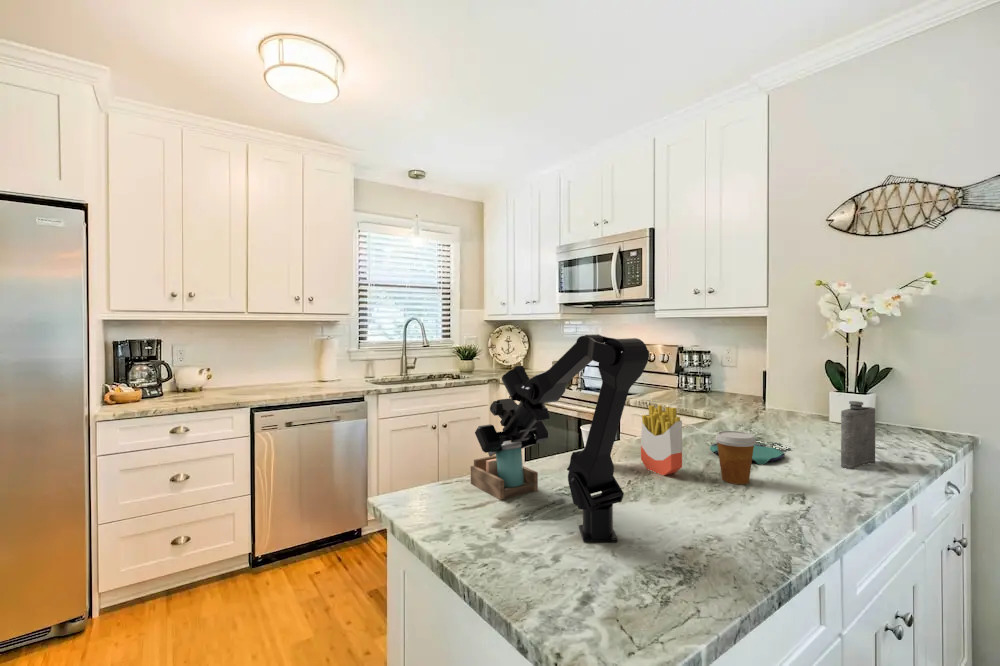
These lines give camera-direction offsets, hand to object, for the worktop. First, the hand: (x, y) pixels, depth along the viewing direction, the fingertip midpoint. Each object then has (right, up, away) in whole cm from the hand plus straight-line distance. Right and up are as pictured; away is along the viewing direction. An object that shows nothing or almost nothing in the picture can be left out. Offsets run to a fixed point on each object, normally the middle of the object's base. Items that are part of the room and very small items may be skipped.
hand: (500, 452), depth 120 cm
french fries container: (+44, -8, +10) cm, 46 cm away
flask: (+102, -7, +15) cm, 103 cm away
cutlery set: (+80, -8, +28) cm, 85 cm away
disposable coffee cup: (+61, -8, +2) cm, 61 cm away
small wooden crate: (0, -8, 0) cm, 8 cm away
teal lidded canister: (+3, -7, -4) cm, 8 cm away
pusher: (0, -7, 0) cm, 7 cm away
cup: (+28, -8, +16) cm, 34 cm away
